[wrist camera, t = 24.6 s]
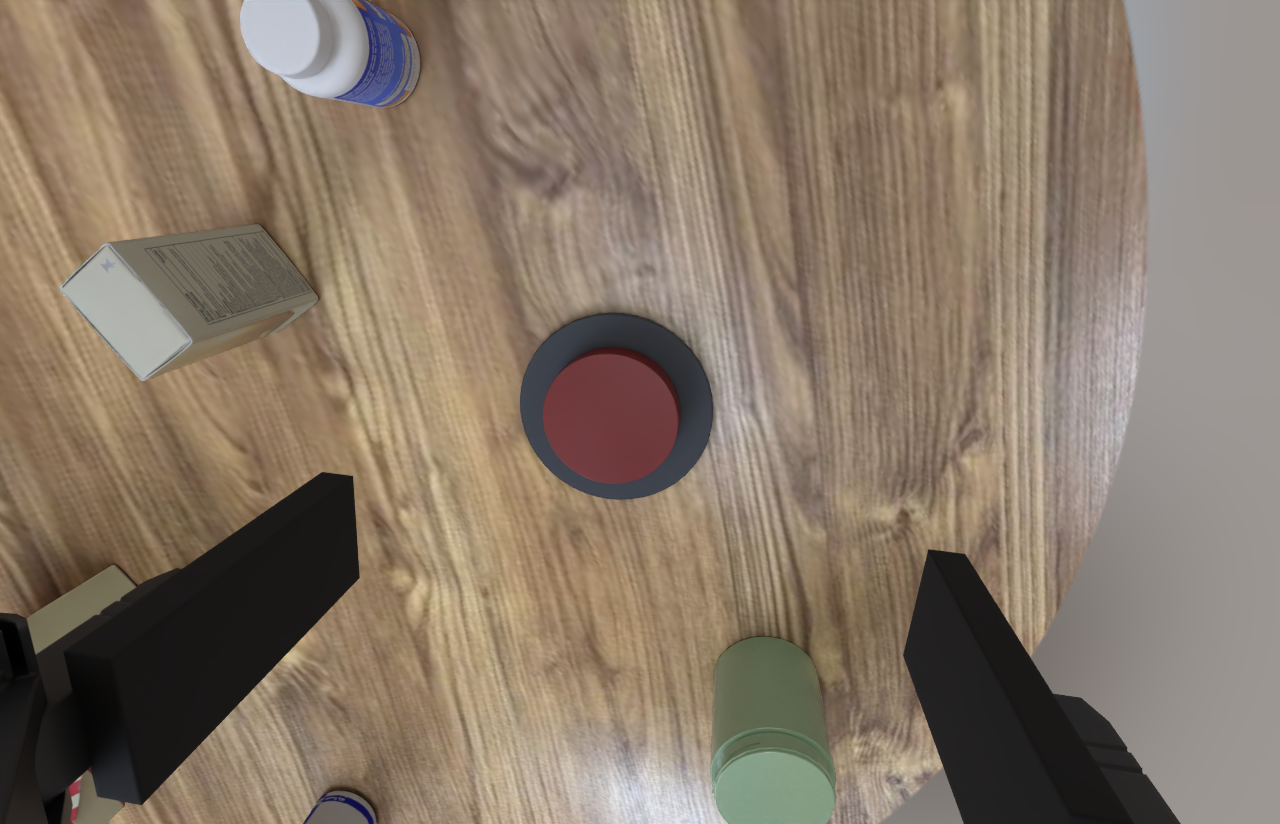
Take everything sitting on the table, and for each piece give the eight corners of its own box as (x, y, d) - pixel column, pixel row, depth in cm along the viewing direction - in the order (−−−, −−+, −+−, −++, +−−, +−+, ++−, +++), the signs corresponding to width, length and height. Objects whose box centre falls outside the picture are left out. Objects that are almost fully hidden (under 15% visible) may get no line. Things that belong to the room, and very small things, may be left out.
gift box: (266, 664, 57) (84, 855, 41) (147, 761, 63) (-56, 964, 46) (108, 518, 54) (-155, 661, 38) (-2, 633, 60) (-274, 800, 44)
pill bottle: (420, 11, 40) (329, -40, 31) (424, 112, 42) (339, 92, 33) (332, 8, 41) (216, -43, 31) (340, 107, 42) (232, 87, 33)
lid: (540, 352, 45) (532, 359, 43) (673, 341, 44) (671, 348, 42) (560, 475, 48) (553, 487, 46) (686, 468, 46) (684, 480, 45)
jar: (826, 644, 50) (851, 760, 40) (808, 729, 53) (827, 857, 43) (720, 628, 51) (718, 738, 41) (707, 712, 53) (702, 835, 43)
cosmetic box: (218, 258, 46) (49, 283, 35) (261, 221, 45) (101, 234, 34) (281, 336, 48) (138, 386, 36) (324, 302, 46) (191, 342, 35)
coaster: (724, 324, 44) (724, 326, 43) (700, 507, 48) (700, 511, 47) (525, 302, 45) (523, 303, 44) (519, 483, 49) (516, 486, 48)
